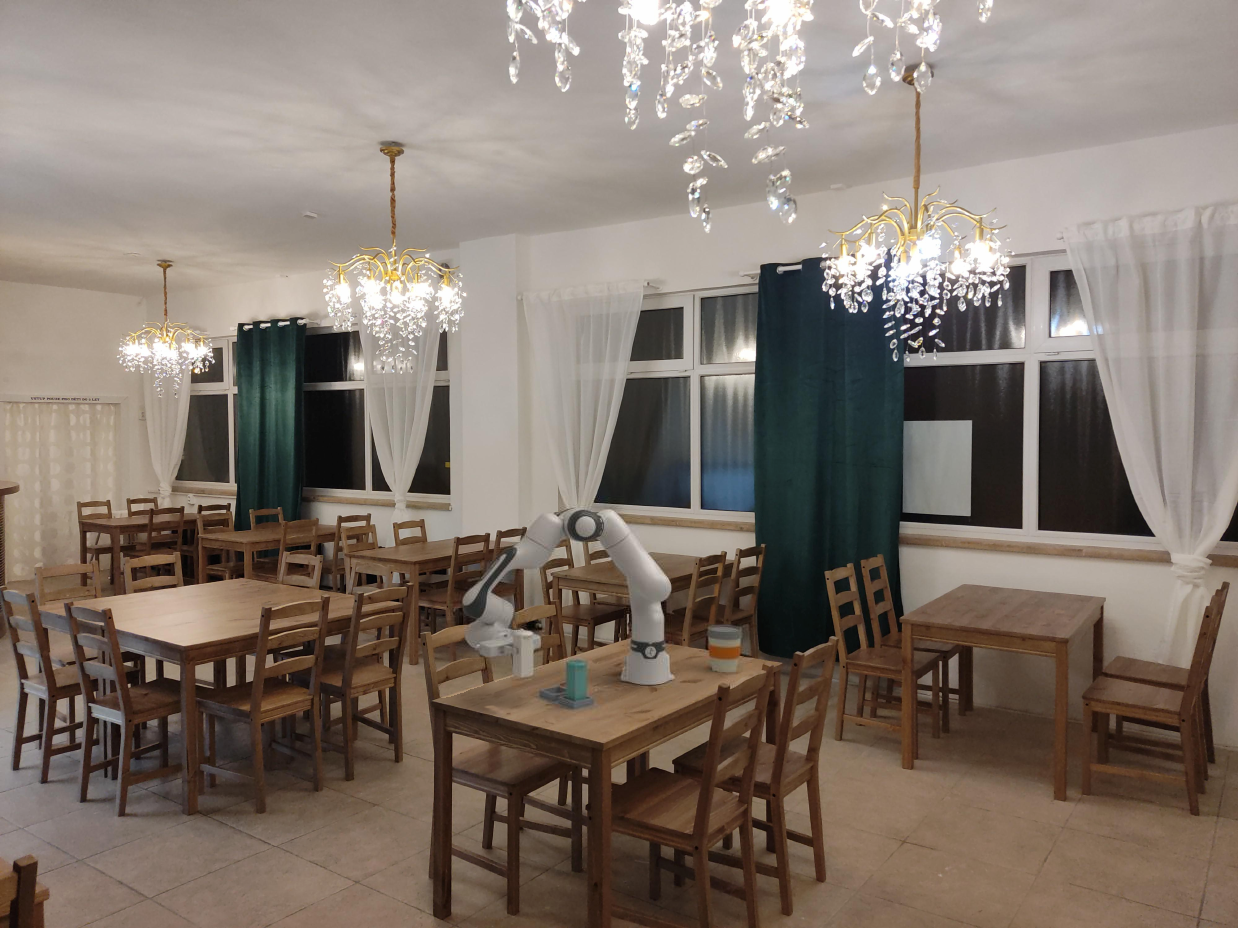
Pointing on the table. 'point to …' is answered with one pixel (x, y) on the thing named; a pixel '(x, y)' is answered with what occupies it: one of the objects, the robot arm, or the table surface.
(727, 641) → the reusable coffee cup
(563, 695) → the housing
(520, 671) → the post
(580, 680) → the teal square canister
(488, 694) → the table surface
